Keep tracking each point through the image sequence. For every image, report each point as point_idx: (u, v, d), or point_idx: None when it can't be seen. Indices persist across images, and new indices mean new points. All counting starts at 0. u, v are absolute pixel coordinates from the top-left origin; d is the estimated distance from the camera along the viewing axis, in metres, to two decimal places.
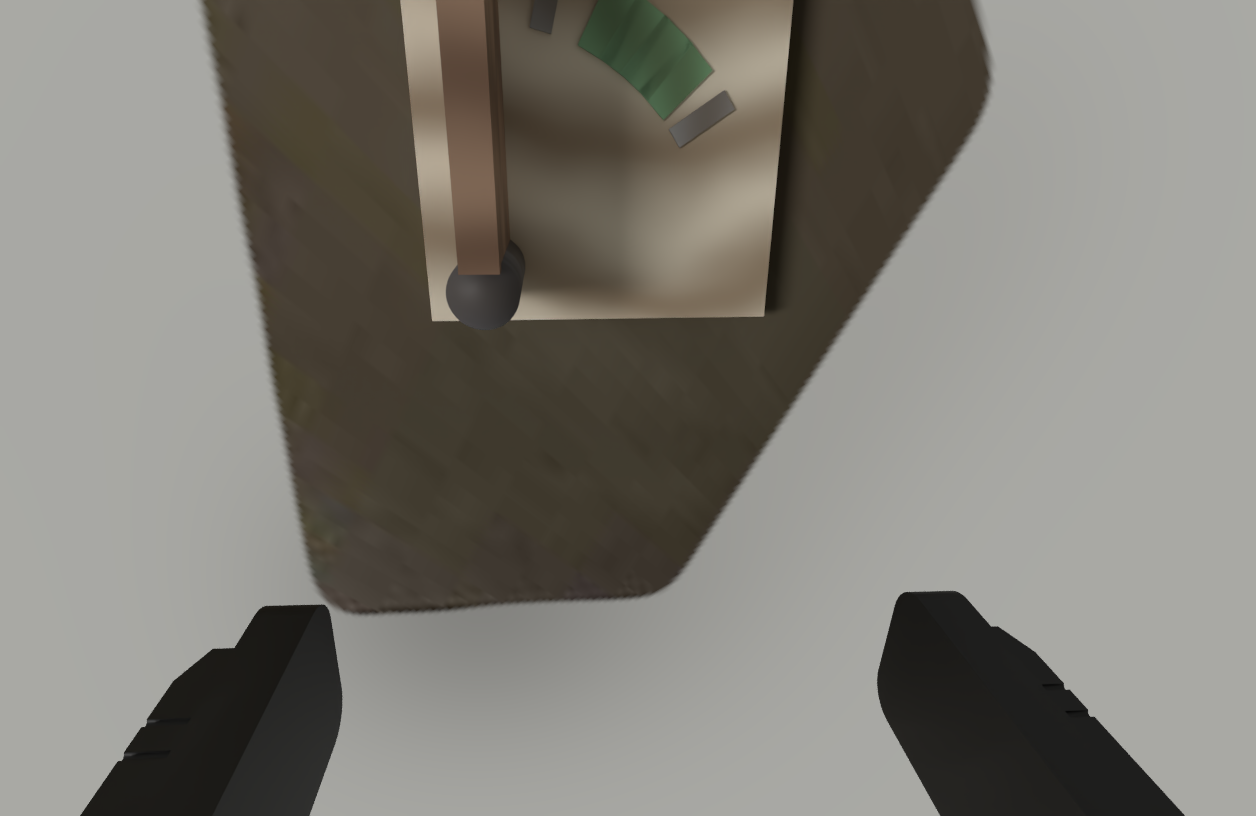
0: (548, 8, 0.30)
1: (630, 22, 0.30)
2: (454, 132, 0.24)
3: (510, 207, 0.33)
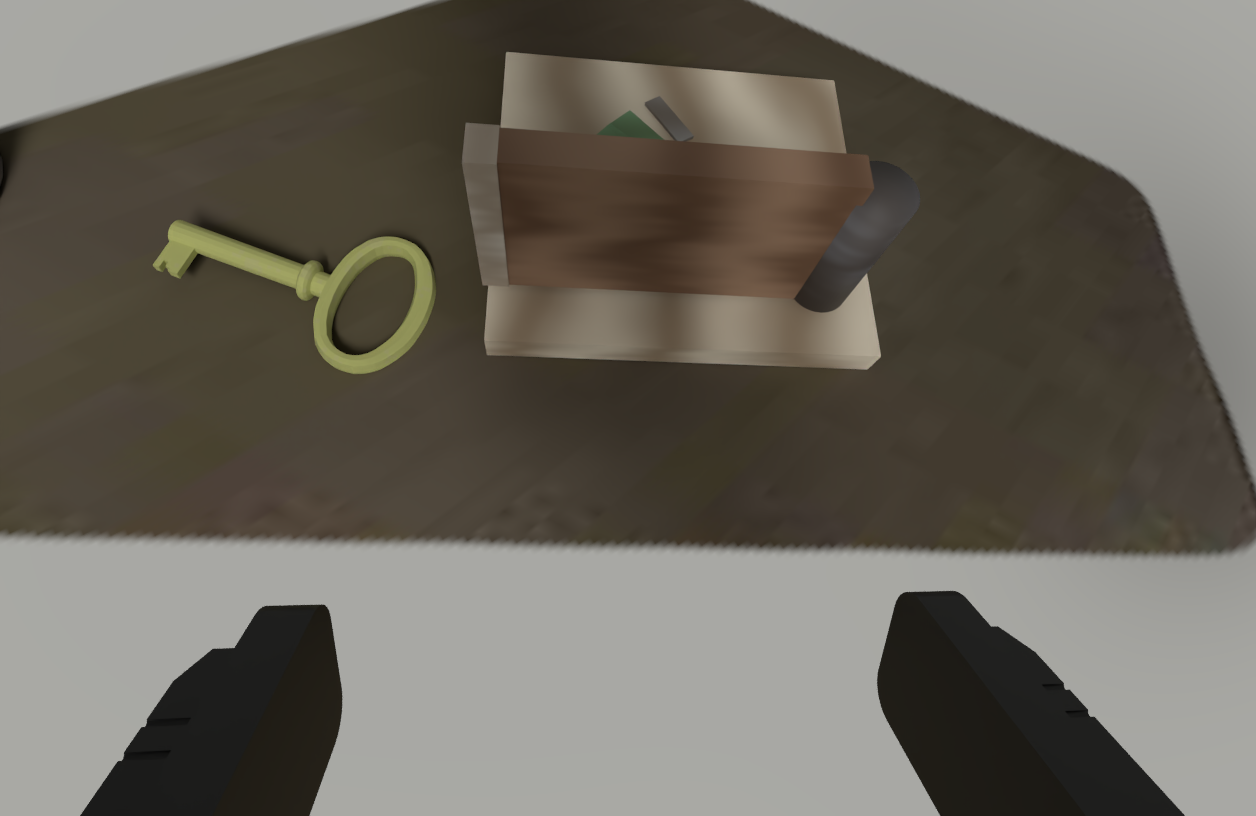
0: None
1: None
2: (740, 173, 0.24)
3: None
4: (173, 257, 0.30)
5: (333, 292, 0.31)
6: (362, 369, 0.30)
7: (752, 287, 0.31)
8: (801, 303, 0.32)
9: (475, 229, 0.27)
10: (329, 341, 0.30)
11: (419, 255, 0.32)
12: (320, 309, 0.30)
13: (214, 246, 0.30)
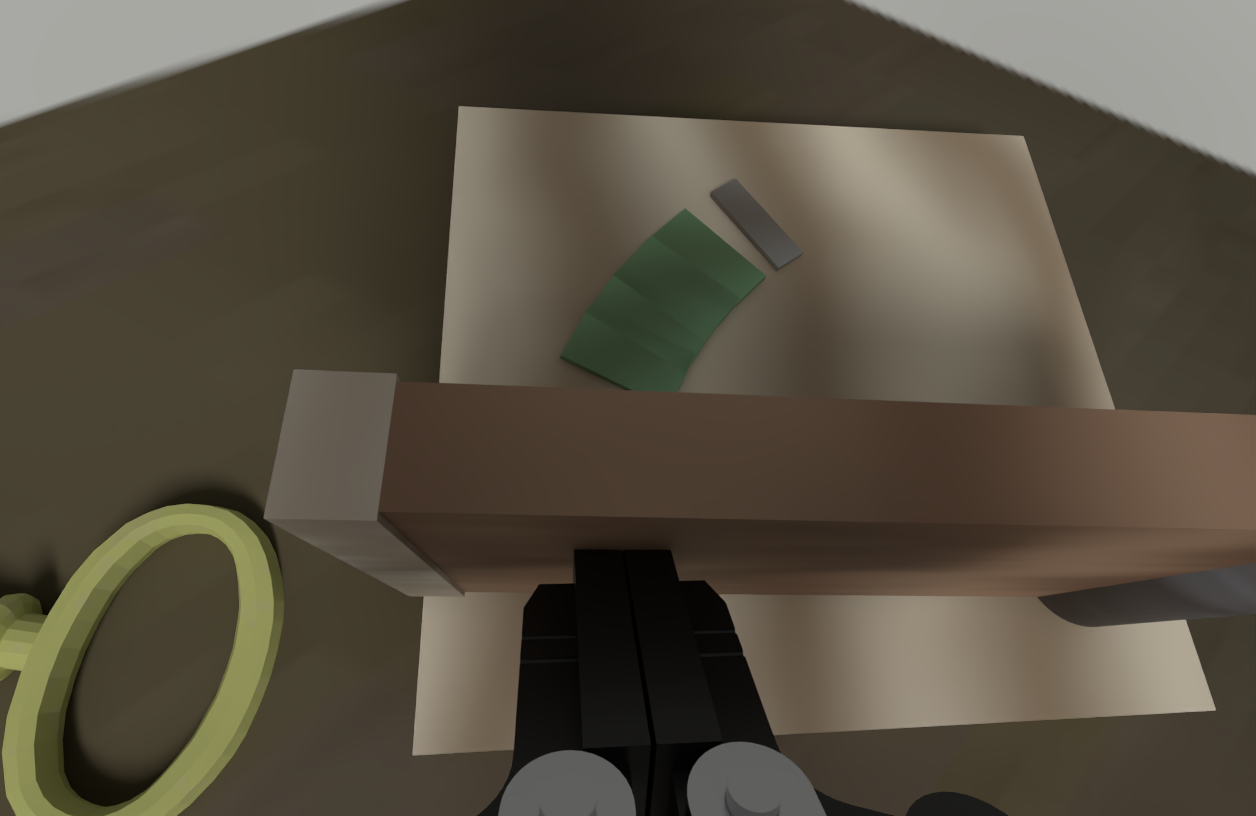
0: None
1: (628, 325, 0.18)
2: (1103, 504, 0.08)
3: None
4: None
5: (50, 666, 0.14)
6: None
7: (966, 592, 0.15)
8: (1052, 606, 0.16)
9: (363, 568, 0.11)
10: (44, 794, 0.14)
11: (239, 533, 0.16)
12: (18, 719, 0.14)
13: None
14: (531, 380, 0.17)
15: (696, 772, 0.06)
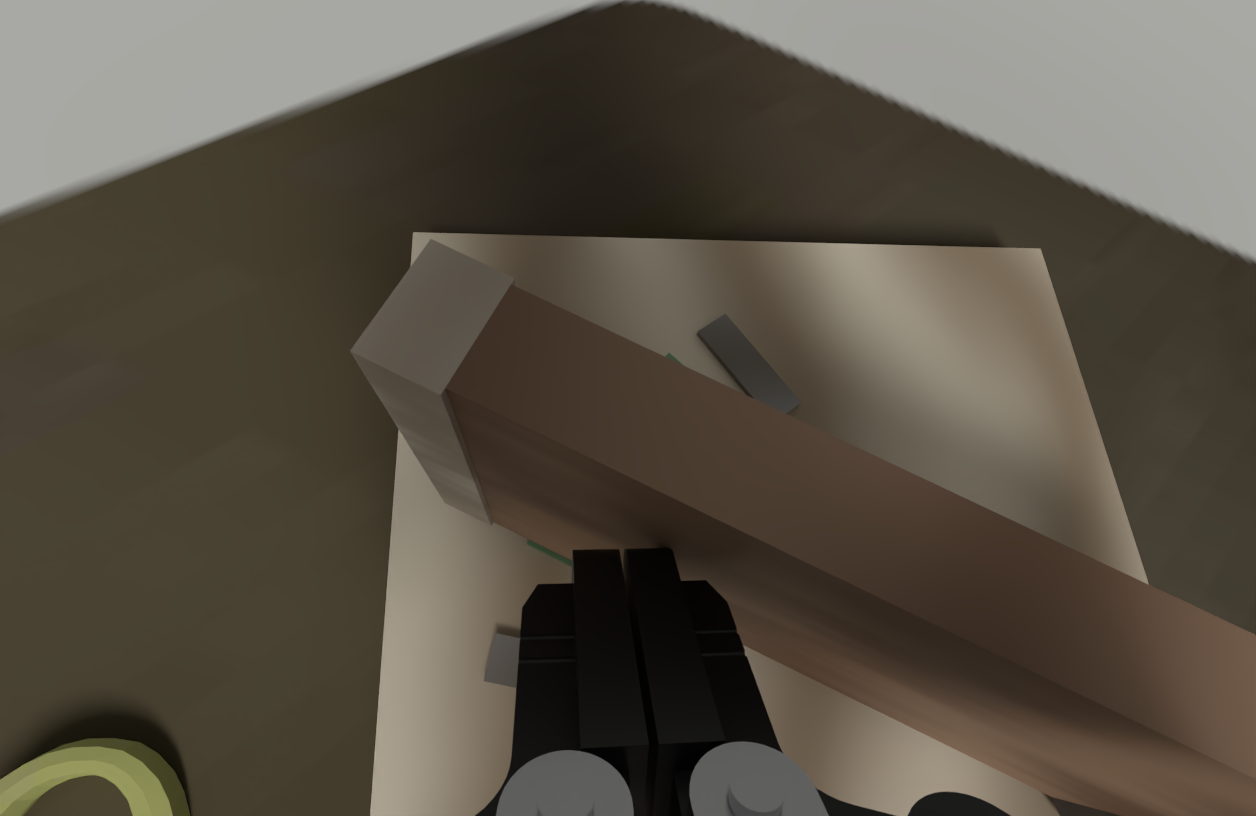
0: None
1: None
2: (1161, 707, 0.07)
3: None
4: None
5: None
6: None
7: (976, 753, 0.14)
8: (1064, 815, 0.14)
9: (415, 450, 0.11)
10: None
11: (136, 778, 0.14)
12: None
13: None
14: (494, 574, 0.15)
15: (698, 771, 0.06)
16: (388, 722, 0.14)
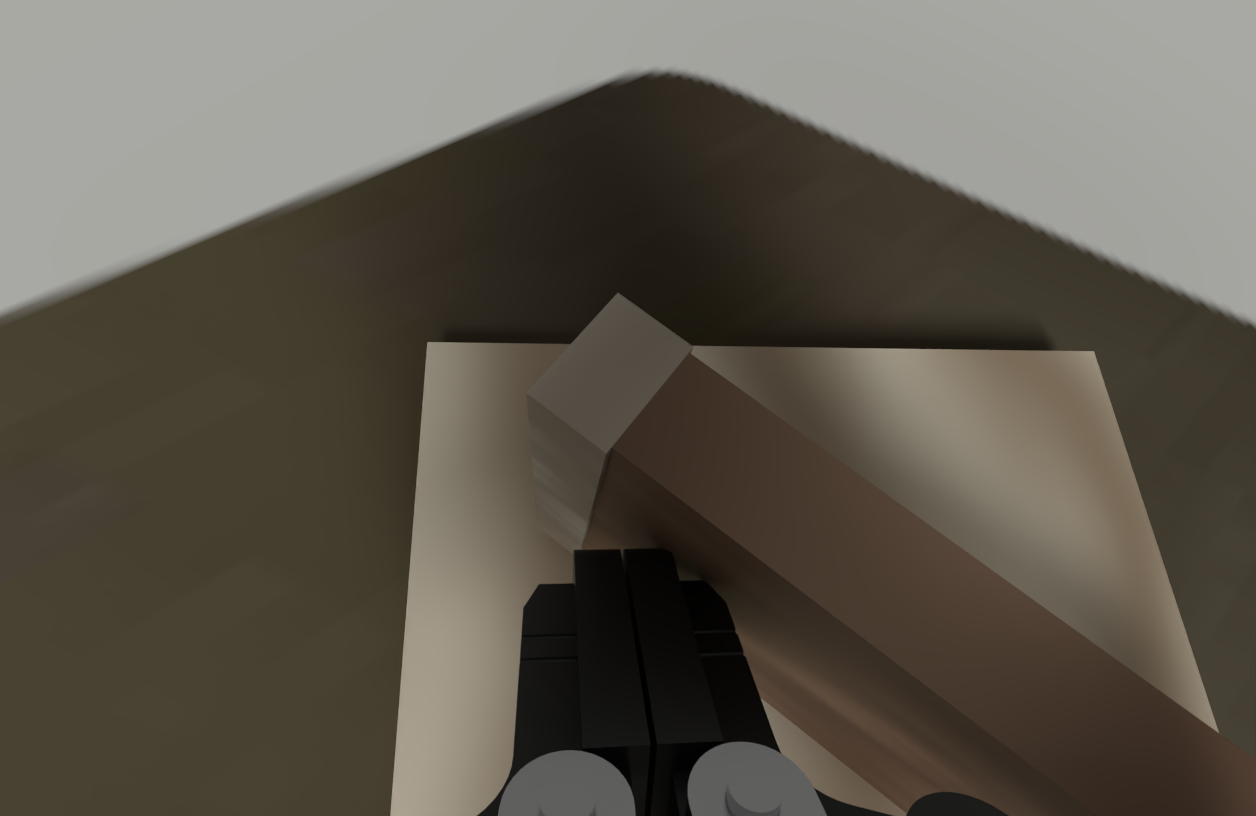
0: None
1: None
2: None
3: None
4: None
5: None
6: None
7: None
8: None
9: (537, 481, 0.11)
10: None
11: None
12: None
13: None
14: (511, 736, 0.14)
15: (697, 772, 0.06)
16: None
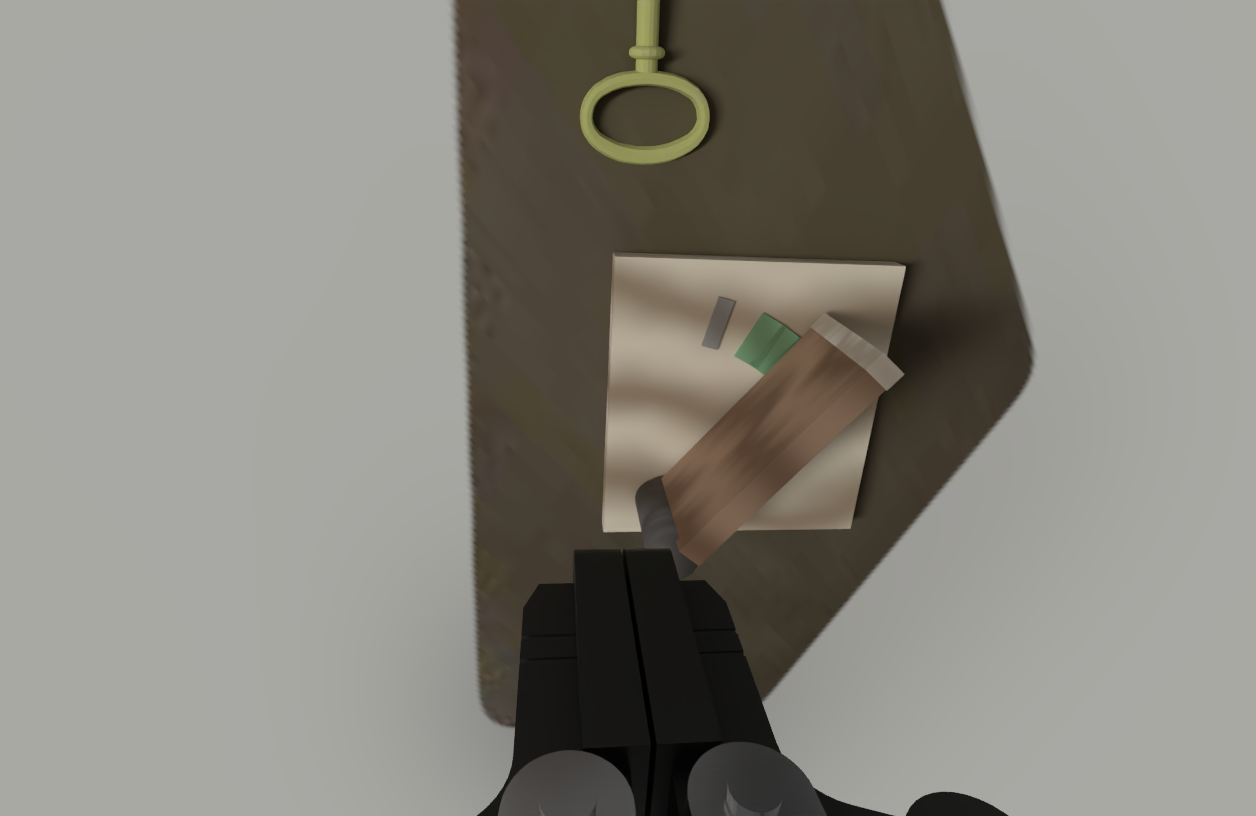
0: (716, 333, 0.41)
1: (774, 342, 0.41)
2: (747, 491, 0.36)
3: (671, 457, 0.44)
4: None
5: (640, 82, 0.36)
6: (585, 135, 0.37)
7: (687, 460, 0.43)
8: (655, 480, 0.44)
9: (851, 332, 0.37)
10: (596, 100, 0.36)
11: (698, 137, 0.37)
12: (620, 80, 0.36)
13: None
14: (754, 300, 0.41)
15: (696, 772, 0.06)
16: (710, 263, 0.39)
